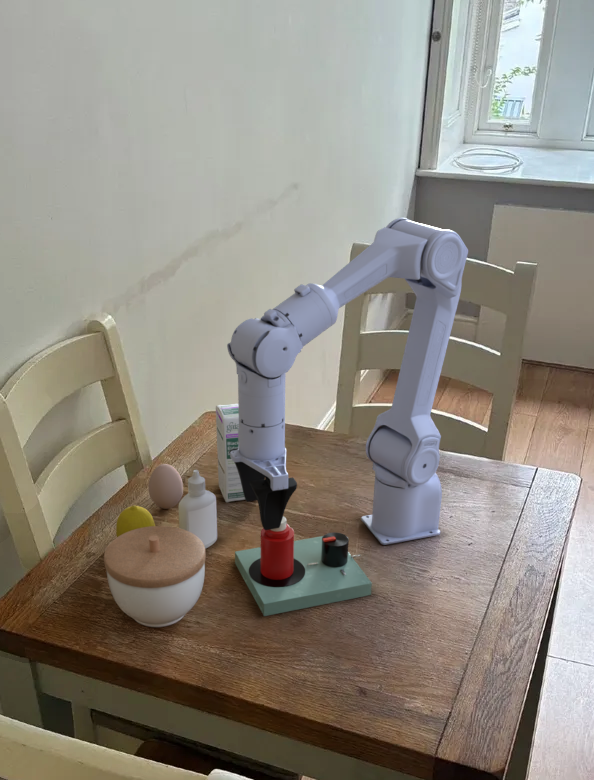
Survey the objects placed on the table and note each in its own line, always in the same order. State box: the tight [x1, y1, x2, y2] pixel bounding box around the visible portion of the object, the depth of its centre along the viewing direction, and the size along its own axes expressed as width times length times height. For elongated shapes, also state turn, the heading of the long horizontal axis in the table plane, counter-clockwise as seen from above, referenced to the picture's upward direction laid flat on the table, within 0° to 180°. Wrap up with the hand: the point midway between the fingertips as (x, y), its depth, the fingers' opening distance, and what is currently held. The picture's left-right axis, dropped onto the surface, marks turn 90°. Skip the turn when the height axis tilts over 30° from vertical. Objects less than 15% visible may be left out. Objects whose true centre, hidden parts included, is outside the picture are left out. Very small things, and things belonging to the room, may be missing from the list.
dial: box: [321, 531, 350, 567], centre depth 120 cm, size 4×4×4 cm
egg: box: [148, 463, 184, 510], centre depth 136 cm, size 5×5×7 cm
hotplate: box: [234, 535, 373, 617], centre depth 120 cm, size 16×13×2 cm
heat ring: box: [249, 558, 305, 587], centre depth 119 cm, size 8×8×1 cm
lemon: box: [115, 504, 156, 538], centre depth 124 cm, size 6×6×8 cm
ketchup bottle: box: [260, 516, 295, 580], centre depth 117 cm, size 4×4×8 cm
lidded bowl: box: [103, 525, 206, 628], centre depth 112 cm, size 13×13×11 cm
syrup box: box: [215, 403, 246, 503], centre depth 138 cm, size 6×6×14 cm
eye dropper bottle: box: [178, 469, 218, 550], centre depth 125 cm, size 4×6×12 cm
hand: (262, 513), depth 116 cm, fingers open, 7 cm apart
